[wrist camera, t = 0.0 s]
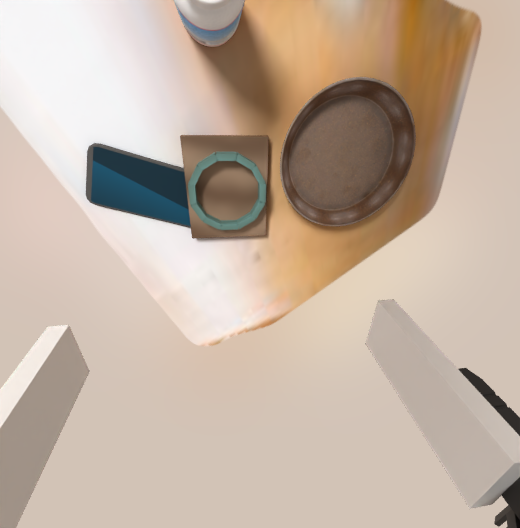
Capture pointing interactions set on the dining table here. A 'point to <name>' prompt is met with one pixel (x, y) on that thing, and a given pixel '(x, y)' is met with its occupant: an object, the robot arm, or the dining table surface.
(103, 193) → the smartphone
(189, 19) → the pill bottle
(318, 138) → the plant saucer
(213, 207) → the holder board
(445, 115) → the dining table surface
